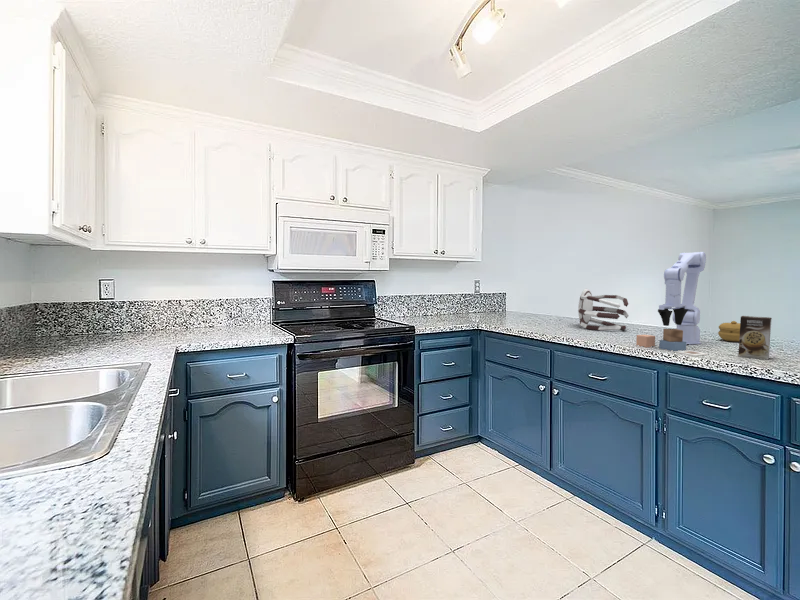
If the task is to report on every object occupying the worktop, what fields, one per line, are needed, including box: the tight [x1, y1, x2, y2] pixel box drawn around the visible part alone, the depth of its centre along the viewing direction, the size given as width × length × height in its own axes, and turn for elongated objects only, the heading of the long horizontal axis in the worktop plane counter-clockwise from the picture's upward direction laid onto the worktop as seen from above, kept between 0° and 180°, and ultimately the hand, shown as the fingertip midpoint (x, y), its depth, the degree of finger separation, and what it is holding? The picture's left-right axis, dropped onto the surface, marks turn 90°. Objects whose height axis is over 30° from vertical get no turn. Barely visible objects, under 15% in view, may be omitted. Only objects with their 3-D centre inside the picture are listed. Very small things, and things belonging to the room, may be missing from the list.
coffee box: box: [737, 315, 773, 360], centre depth 159 cm, size 9×6×16 cm
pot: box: [717, 320, 740, 343], centre depth 196 cm, size 12×12×10 cm
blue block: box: [658, 339, 687, 352], centre depth 177 cm, size 7×7×4 cm
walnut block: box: [662, 328, 683, 342], centre depth 177 cm, size 5×5×5 cm
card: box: [675, 350, 709, 357], centre depth 167 cm, size 8×8×1 cm
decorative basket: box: [577, 288, 629, 332], centre depth 245 cm, size 24×27×35 cm
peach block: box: [635, 334, 656, 348], centre depth 185 cm, size 5×5×5 cm
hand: (672, 325), depth 180 cm, fingers open, 7 cm apart
